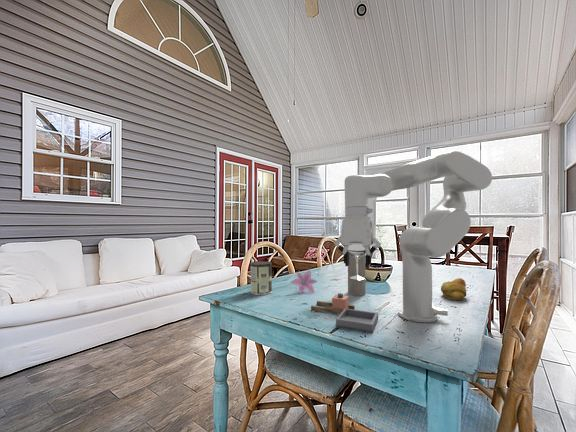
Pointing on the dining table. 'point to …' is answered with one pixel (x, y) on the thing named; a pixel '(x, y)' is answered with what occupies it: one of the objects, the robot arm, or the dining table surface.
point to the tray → (357, 320)
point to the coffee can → (261, 277)
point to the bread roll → (454, 289)
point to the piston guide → (328, 310)
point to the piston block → (340, 302)
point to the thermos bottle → (355, 285)
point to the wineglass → (356, 255)
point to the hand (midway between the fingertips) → (357, 265)
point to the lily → (304, 282)
